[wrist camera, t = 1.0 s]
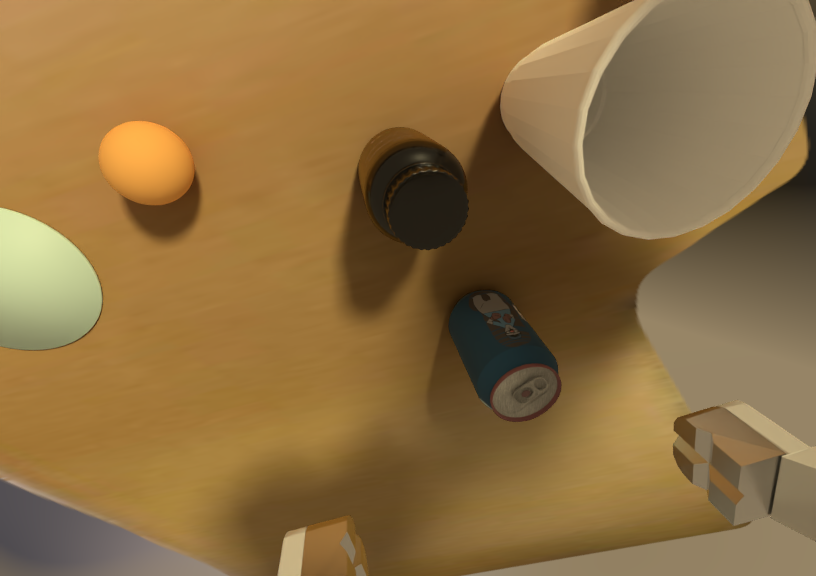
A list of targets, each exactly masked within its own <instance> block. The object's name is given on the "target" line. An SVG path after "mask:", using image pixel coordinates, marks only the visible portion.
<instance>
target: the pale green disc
mask: <svg viewBox="0 0 816 576" xmlns="http://www.w3.org/2000/svg"><path fill="white" fill-rule="evenodd" d="M102 303H103V296H102V289H101V284H100V281H99V279H98V276H97V274H96V272H95V270H94V268H93V266H92V265H91V263H90V262H89V261H88V259H87V258H86V257H85V255H84V254H83V253H82V252H81V251H80V250H79V249H78V248H77V247H76V246H75V245H74V244H73V243H72V242H71V241H70V240H69V239H67V238H66V237H65V236H63V235H62V234H61V233H59V232H58V231H56V230H55V229H53V228H51V227H50V226H48V225H47V224H45V223H43V222H41V221H39V220H37V219H35V218H32V217H30V216H27V215H25V214H22V213H20V212H16V211H13V210H9V209H6V208H1V207H0V346H2V347H7V348H13V349H21V350H44V349H51V348H56V347H60V346H64V345H67V344H69V343H71V342H74V341H76V340H77V339H79V338H81V337H82V336H83V335H85V334H86V333H87V332H88V331H89V330H90V329H91V328H92V327H93V326H94V324H95V323H96V321H97V319H98V318H99V315H100V312H101V309H102Z"/></svg>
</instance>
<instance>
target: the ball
mask: <svg viewBox="0 0 816 576" xmlns="http://www.w3.org/2000/svg"><path fill="white" fill-rule="evenodd" d="M99 165H100V168H101V171H102V173H103V176H104V177H105V179H106V180H107V182H108V183H109V184H110V186H111V187H112V188H113V189H114V190H116V191H117V192H118V193H119V194H121V195H122V196H124V197H126V198H127V199H129V200H132V201H134V202H137V203H140V204H145V205H163V204H167V203H171V202H173V201H175V200H177V199H179V198H180V197H182V196H183V195H184V194H185V193H186V192H187V191H188V189H189V188H190V186H191V184H192V182H193V178H194V172H195V168H194V161H193V158H192V155H191V153H190V151H189V149H188V147H187V146H186V144H185V143H184V142H183V141H182V140H181V139H180V138H179V137H178V136H177V135H176V134H175V133H174V132H172V131H171V130H169V129H167V128H165V127H163V126H161V125H159V124H155V123H152V122H146V121H132V122H126V123H123V124H121V125H118V126H116V127H115V128H113V129H112V130H111V131H110V132H108V133H107V134H106V136H105V137H104V138H103V140H102V142H101V145H100V148H99Z"/></svg>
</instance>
